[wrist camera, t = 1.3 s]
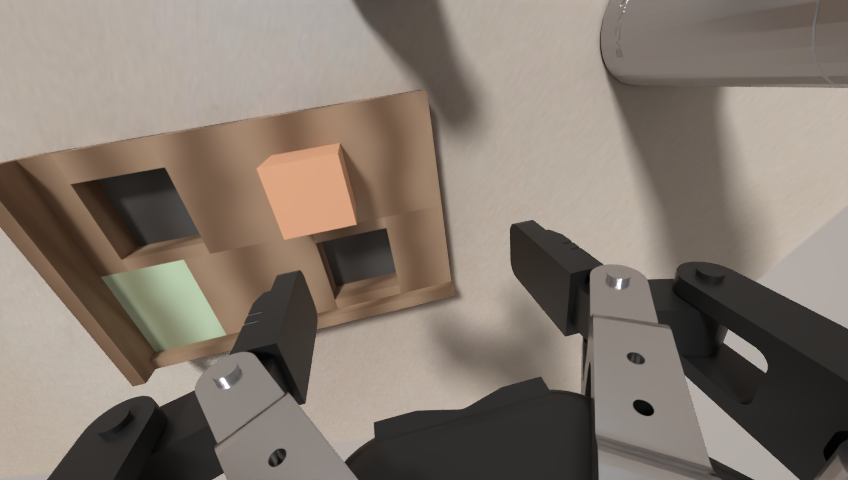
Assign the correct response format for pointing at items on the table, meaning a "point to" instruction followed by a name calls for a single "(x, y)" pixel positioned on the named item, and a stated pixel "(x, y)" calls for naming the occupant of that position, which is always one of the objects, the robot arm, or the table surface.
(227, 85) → the table surface
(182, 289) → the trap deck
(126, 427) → the robot arm
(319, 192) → the terracotta block
